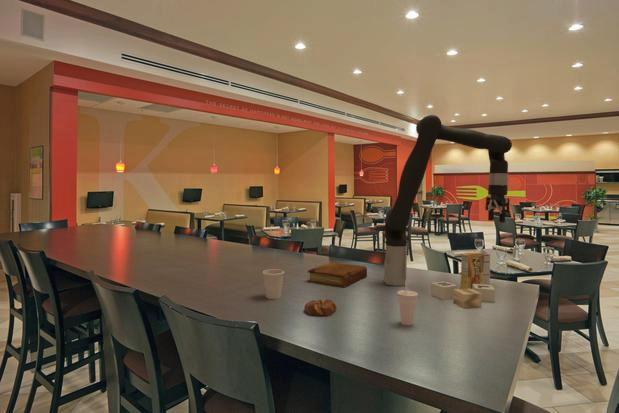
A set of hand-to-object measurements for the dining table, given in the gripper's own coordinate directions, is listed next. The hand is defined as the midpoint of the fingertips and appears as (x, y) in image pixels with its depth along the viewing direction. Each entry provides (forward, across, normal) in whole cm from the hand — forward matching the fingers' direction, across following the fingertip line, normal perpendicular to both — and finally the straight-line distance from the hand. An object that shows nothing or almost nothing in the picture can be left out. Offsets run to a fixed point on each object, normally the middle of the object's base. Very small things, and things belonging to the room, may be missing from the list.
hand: (496, 221), depth 166 cm
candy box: (+29, +6, -13) cm, 32 cm away
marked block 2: (+29, +19, -15) cm, 38 cm away
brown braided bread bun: (+30, +30, -79) cm, 90 cm away
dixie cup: (+30, +12, -96) cm, 101 cm away
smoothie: (+29, +43, -53) cm, 74 cm away
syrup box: (+28, -2, -4) cm, 29 cm away
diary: (+30, -15, -66) cm, 74 cm away
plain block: (+29, +25, -25) cm, 46 cm away
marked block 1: (+29, +15, -29) cm, 43 cm away
